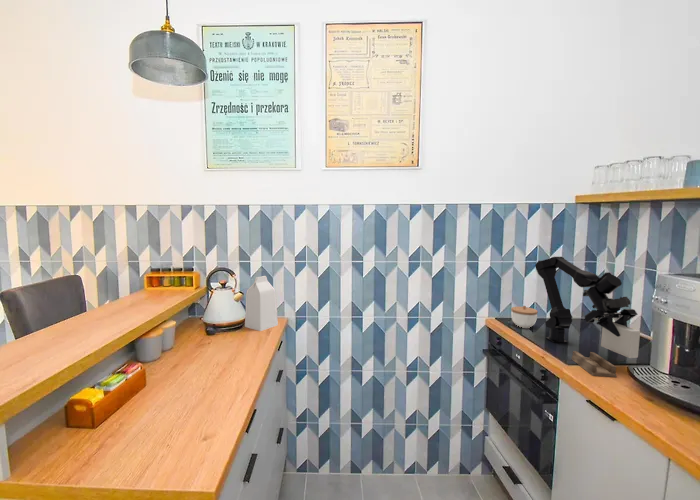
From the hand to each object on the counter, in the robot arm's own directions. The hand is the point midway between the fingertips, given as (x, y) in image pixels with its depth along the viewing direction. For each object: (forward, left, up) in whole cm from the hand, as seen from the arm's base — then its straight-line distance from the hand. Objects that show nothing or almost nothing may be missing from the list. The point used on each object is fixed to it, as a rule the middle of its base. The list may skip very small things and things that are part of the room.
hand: (623, 335), depth 130 cm
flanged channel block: (-2, -9, -13) cm, 16 cm away
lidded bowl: (-54, -8, -14) cm, 57 cm away
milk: (-54, -147, -14) cm, 157 cm away
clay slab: (-1, 0, -7) cm, 7 cm away
